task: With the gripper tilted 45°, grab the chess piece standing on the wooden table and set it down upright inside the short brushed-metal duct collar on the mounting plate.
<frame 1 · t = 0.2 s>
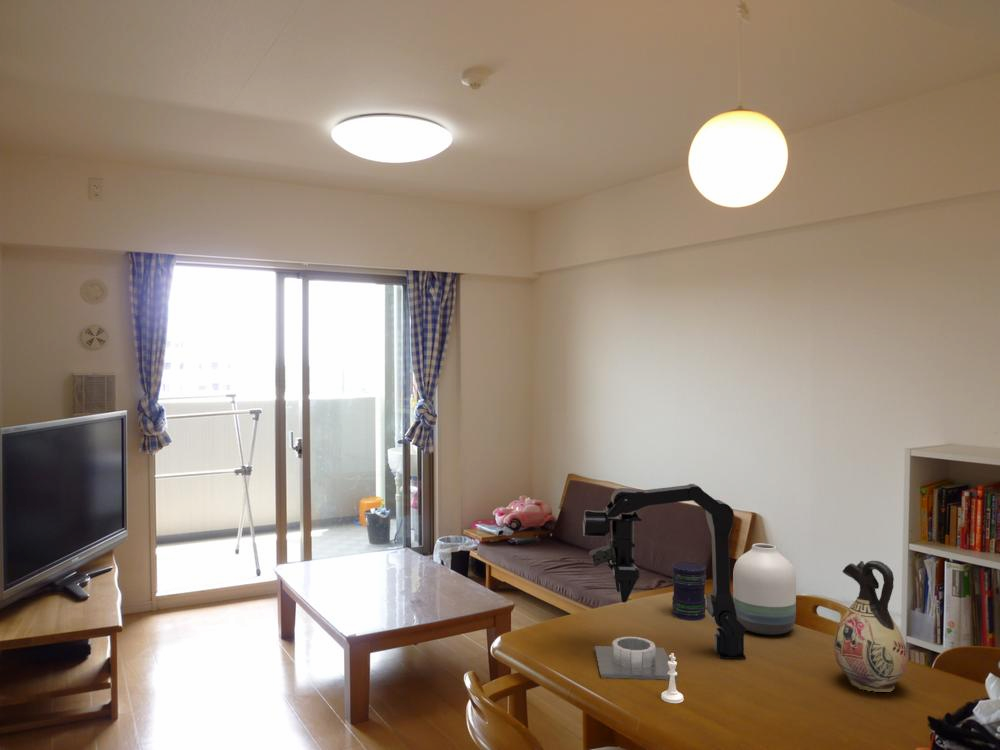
hand: (621, 596, 187), 15 cm above the table, tool pointing down, fingers open, 9 cm apart
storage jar: (688, 616, 217), on the table
duct collar: (633, 664, 179), on the table
vase: (763, 630, 205), on the table
ceramic jug: (872, 687, 166), on the table
chess piece: (672, 699, 160), on the table
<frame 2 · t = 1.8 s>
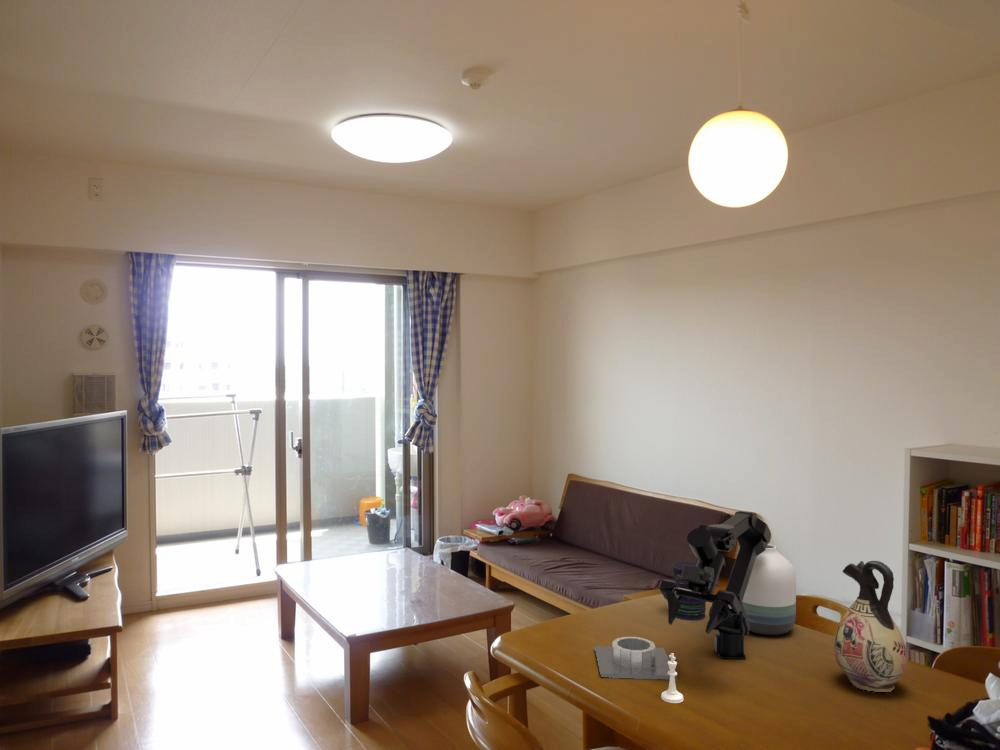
hand: (687, 628, 166), 14 cm above the table, tool tilted 45°, fingers open, 9 cm apart
nothing on the table moved.
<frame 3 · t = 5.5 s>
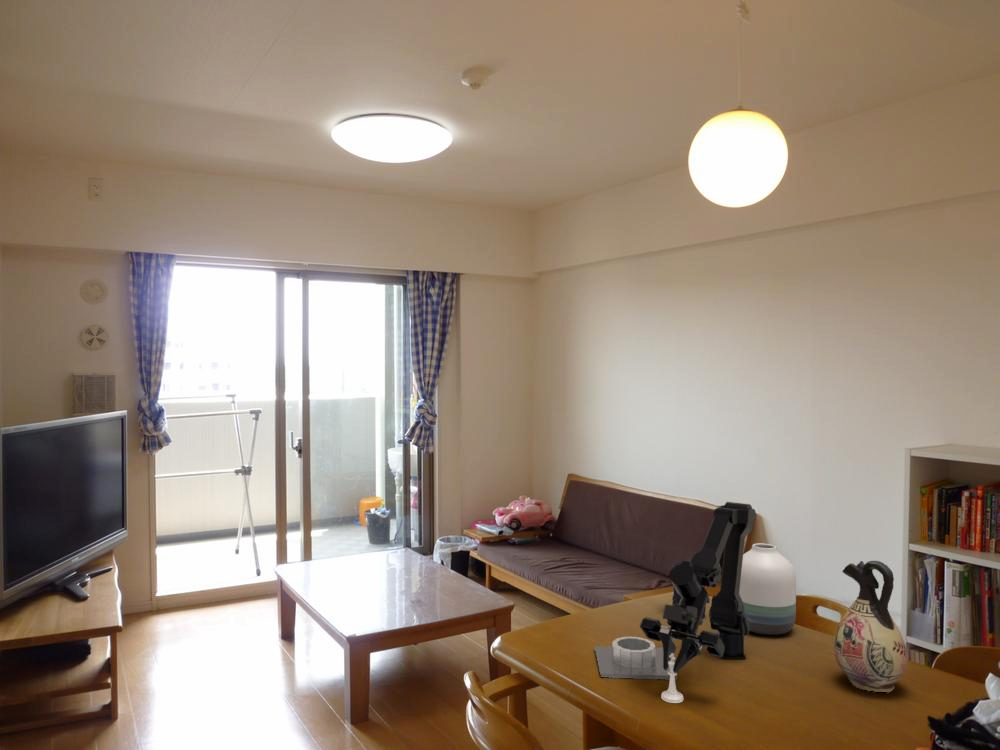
hand: (669, 670, 159), 7 cm above the table, tool tilted 45°, fingers closed on chess piece
chess piece: (672, 699, 160), on the table, touching gripper
everything else where it was.
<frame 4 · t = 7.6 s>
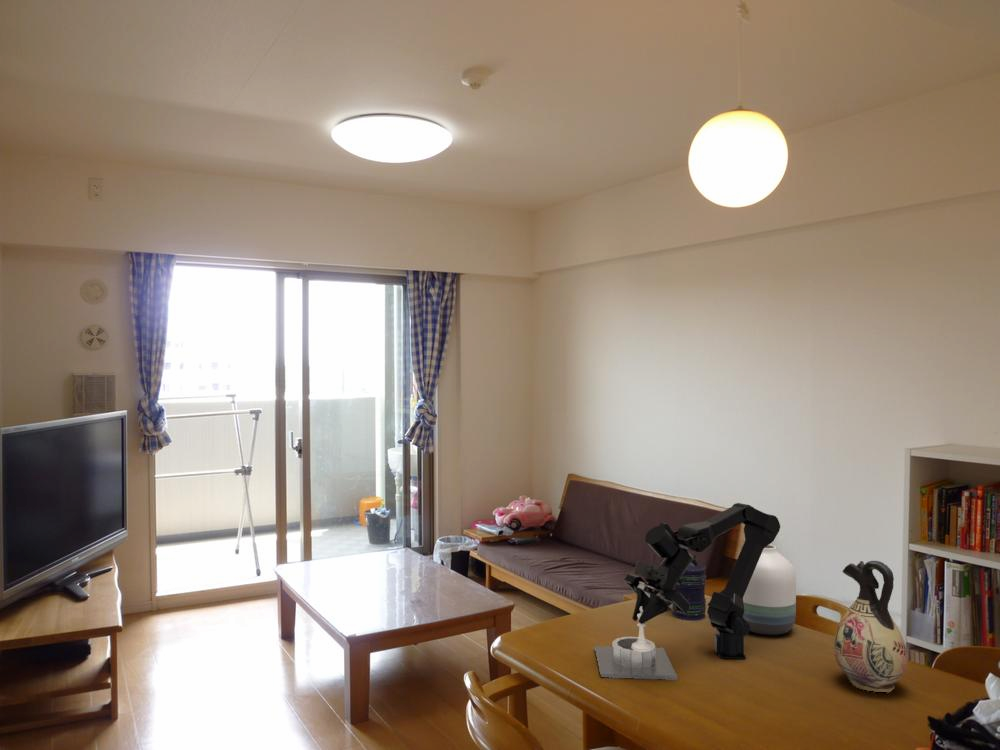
hand: (636, 621, 171), 13 cm above the table, tool tilted 45°, fingers closed on chess piece
chess piece: (641, 648, 172), point 6 cm above the table, touching gripper
everything else where it was.
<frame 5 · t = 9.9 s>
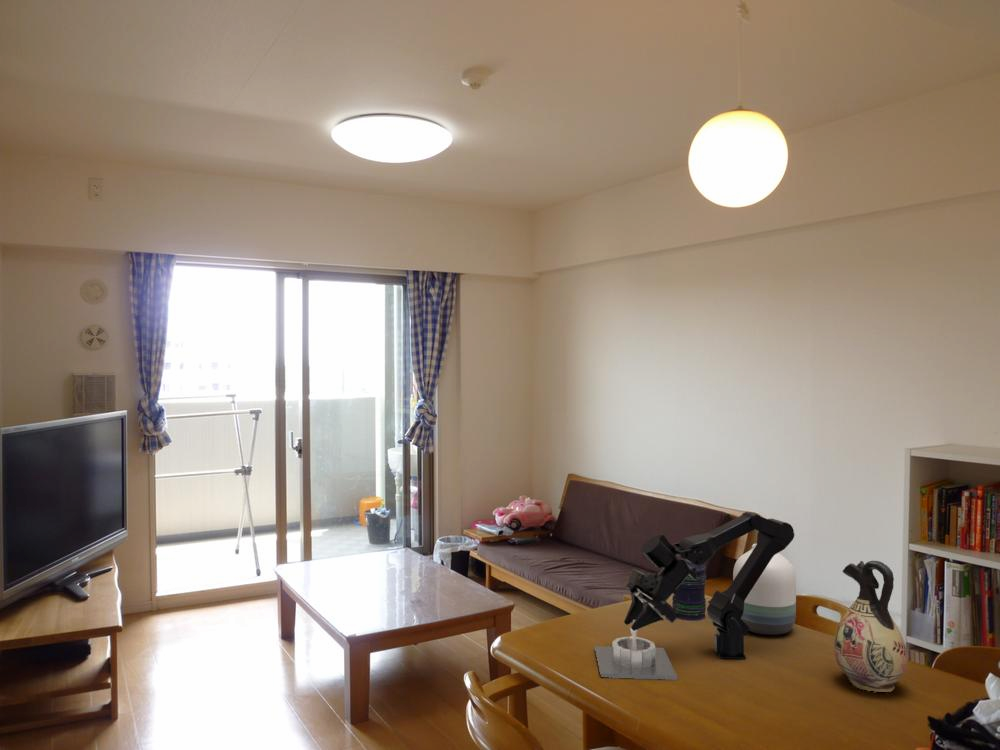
hand: (628, 626, 179), 10 cm above the table, tool tilted 45°, fingers open, 4 cm apart
chess piece: (634, 660, 179), point 1 cm above the table, touching duct collar
everything else where it was.
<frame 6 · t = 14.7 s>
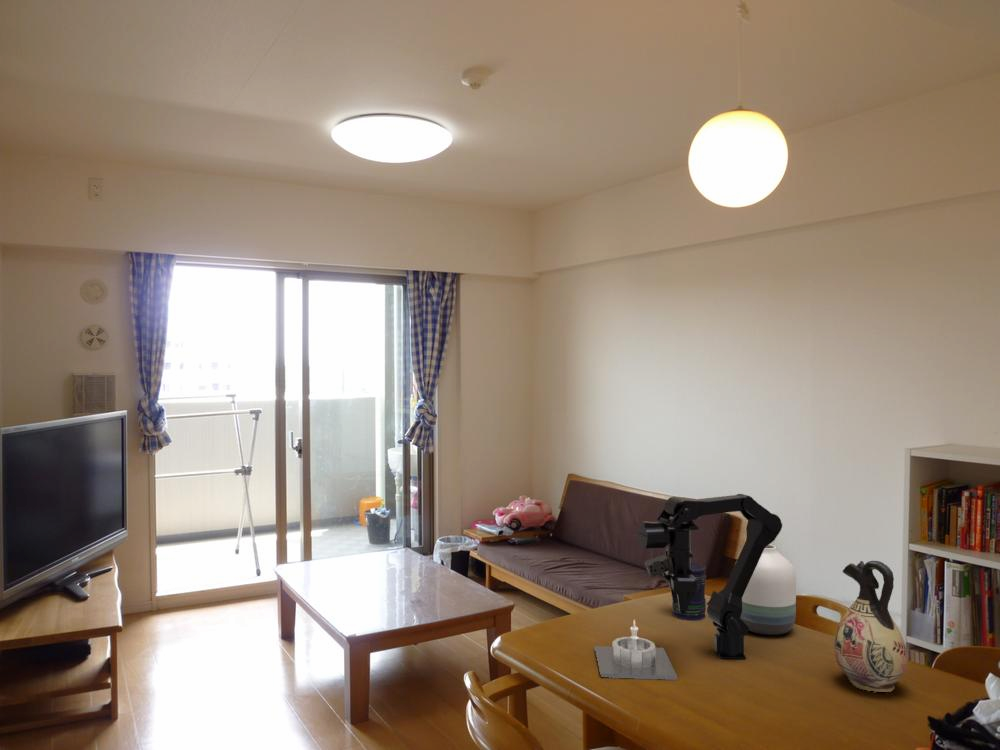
hand: (678, 608, 183), 13 cm above the table, tool pointing down, fingers open, 9 cm apart
nothing on the table moved.
at the end: chess piece 0.1 cm off-centre on the duct collar, point 0.8 cm above the duct collar's base; chess piece tilted 0°; the gripper is holding nothing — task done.
